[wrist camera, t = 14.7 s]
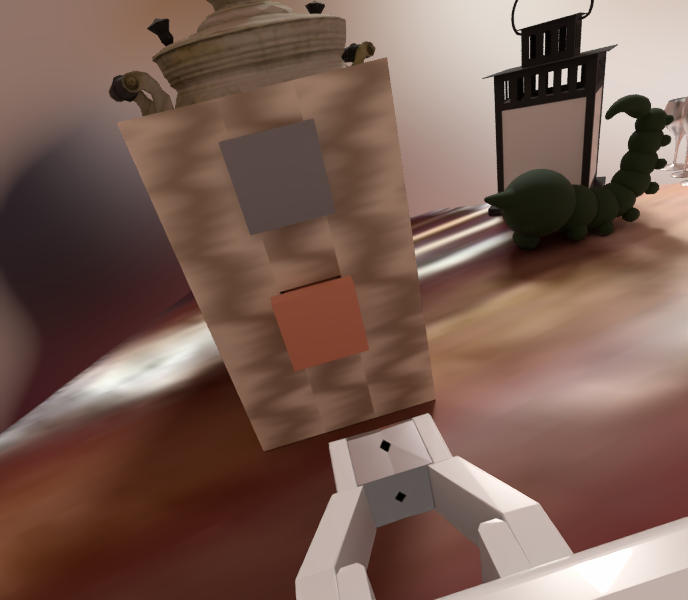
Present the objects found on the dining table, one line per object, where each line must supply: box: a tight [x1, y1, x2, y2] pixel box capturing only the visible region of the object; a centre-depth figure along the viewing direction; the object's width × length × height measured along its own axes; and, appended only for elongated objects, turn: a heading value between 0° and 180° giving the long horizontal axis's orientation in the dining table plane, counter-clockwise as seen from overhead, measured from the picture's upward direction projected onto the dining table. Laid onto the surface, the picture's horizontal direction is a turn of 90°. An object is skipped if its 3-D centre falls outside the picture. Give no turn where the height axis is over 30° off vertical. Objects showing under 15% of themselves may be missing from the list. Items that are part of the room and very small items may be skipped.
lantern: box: [483, 0, 617, 215], centre depth 67 cm, size 17×17×35 cm
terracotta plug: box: [271, 275, 369, 372], centre depth 31 cm, size 6×9×6 cm, turn 10°
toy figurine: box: [484, 94, 674, 249], centre depth 55 cm, size 9×19×25 cm
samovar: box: [109, 0, 375, 116], centre depth 49 cm, size 30×26×40 cm
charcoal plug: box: [219, 119, 335, 235], centre depth 28 cm, size 6×9×6 cm, turn 10°
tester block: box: [117, 58, 436, 451], centre depth 31 cm, size 16×6×27 cm, turn 100°
